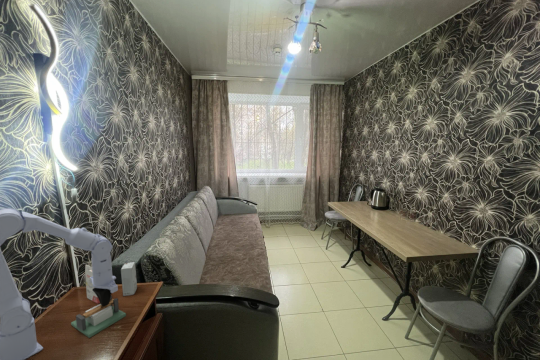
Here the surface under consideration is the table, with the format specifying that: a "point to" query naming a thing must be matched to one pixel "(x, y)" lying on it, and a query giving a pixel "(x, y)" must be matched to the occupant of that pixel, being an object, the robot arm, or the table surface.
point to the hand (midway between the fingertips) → (105, 304)
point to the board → (101, 325)
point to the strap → (97, 309)
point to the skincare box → (129, 278)
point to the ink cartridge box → (90, 285)
